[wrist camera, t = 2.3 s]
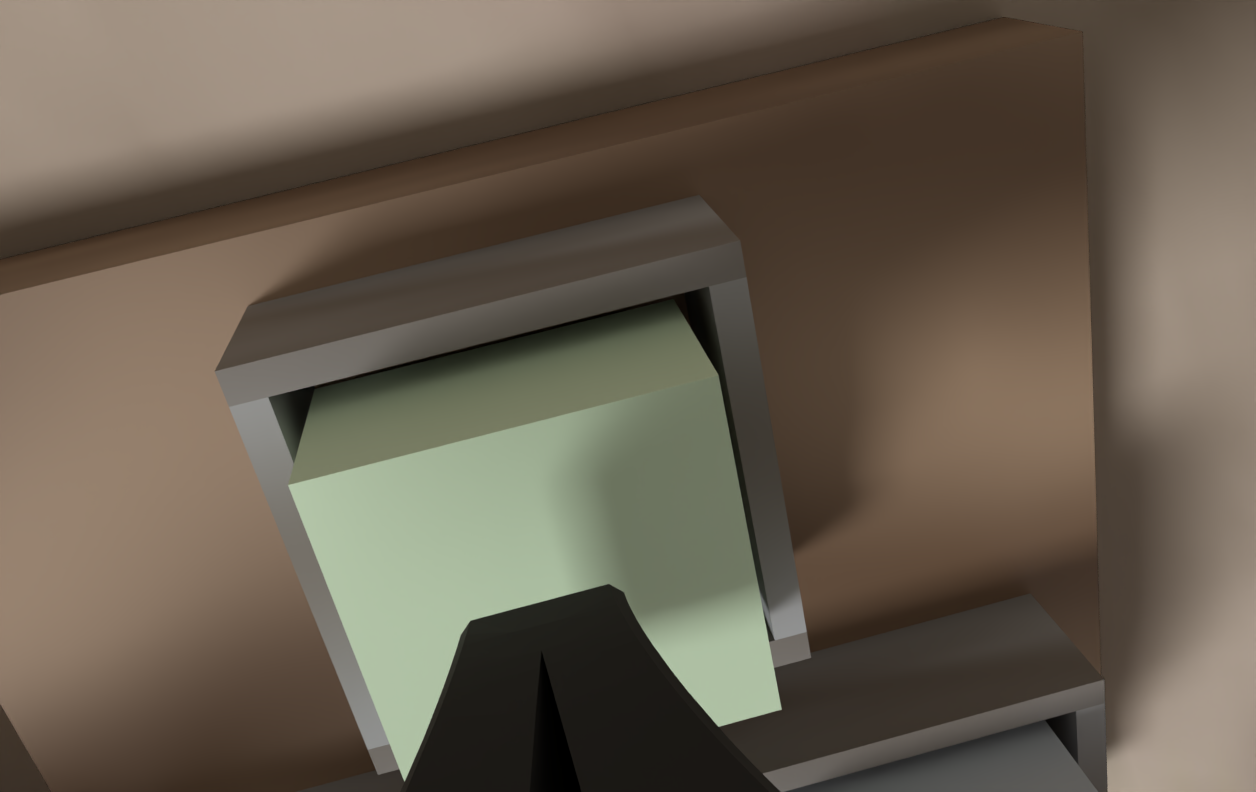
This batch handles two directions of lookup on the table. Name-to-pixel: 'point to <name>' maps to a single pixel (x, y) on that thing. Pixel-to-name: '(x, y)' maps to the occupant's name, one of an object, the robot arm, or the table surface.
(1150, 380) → the table surface
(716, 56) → the table surface
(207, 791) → the console
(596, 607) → the robot arm
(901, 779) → the grey button
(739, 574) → the green button
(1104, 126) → the table surface
